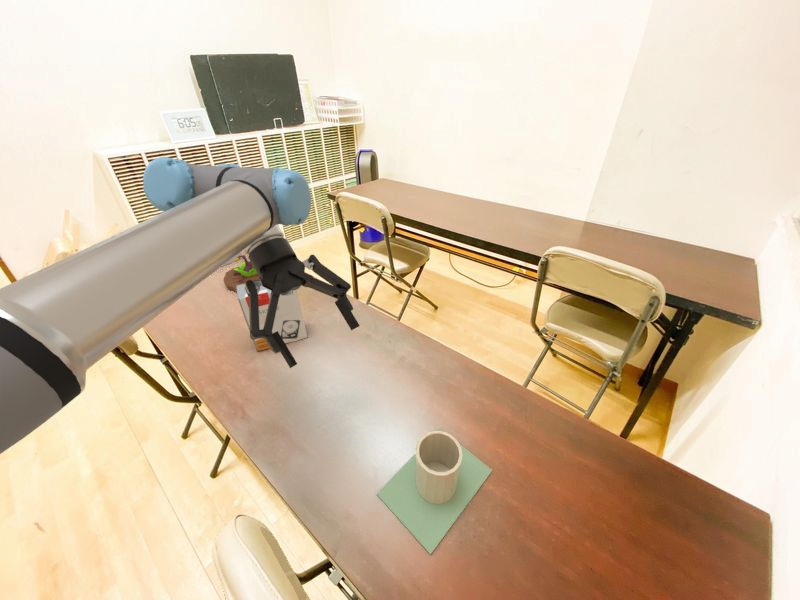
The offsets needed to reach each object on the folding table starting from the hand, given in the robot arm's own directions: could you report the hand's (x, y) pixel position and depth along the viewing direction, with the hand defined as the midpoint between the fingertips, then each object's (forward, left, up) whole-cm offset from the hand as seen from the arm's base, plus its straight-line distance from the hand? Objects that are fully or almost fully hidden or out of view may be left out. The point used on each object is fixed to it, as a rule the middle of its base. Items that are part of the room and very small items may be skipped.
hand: (326, 346), depth 59 cm
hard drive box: (+6, +40, -28) cm, 49 cm away
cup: (+6, -23, -27) cm, 36 cm away
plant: (+15, +81, -28) cm, 87 cm away
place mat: (+6, -23, -28) cm, 36 cm away
